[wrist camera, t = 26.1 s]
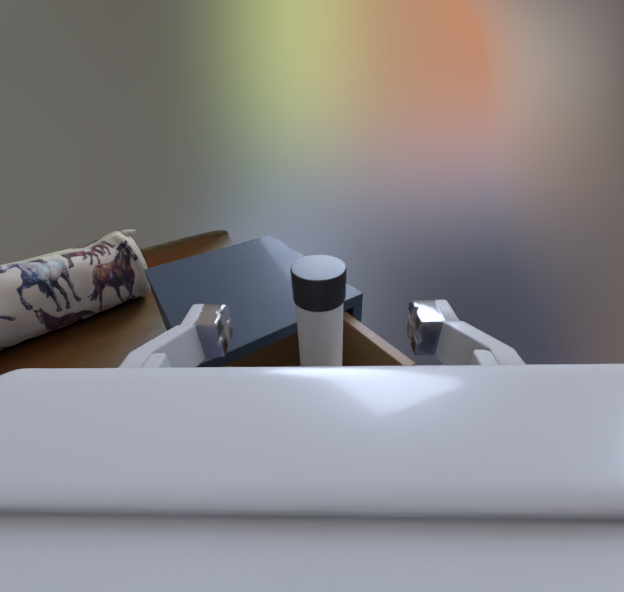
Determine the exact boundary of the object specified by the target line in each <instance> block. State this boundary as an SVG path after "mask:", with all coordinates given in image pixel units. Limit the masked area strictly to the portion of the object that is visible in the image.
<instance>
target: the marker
mask: <svg viewBox="0 0 624 592" xmlns="http://www.w3.org/2000/svg"><path fill="white" fill-rule="evenodd" d="M291 281H292V293H293V301H294V303H295V304H296V316H297V329H298V341H299V353H300V365H301V367H304V366H342V349H343V304H344V301H345V298H346V265H345V263H344V262H343V261H342V260H340V259H338V258H336V257H333V256H328V255H313V256H307V257H303V258H301V259H299V260H297V261H295V262H294V263H293V264H292V266H291Z"/></svg>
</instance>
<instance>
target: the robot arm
mask: <svg viewBox="0 0 624 592" xmlns="http://www.w3.org/2000/svg"><path fill="white" fill-rule="evenodd" d="M408 310H409V312H410V315H409V316H408V317H407V320H406V331H407V335H408V338H410V339H411V340H412V341H411V346H412V349H413V351H414V354H415V355H435V357H436V358H437V359H439V360H440V361H441V362H442V363H443V364H444V365H437V366H436V365H430V366H429V365H428V366H304V367H197V366H198V365H199V364H200V363H201V362H202V361H203V360H205V359H206V358H208V357H225V354H226V352H227V349H228V343H227V342H229V341H230V340H231V338H232V335H233V323H232V319H231V318H229V317H228V316H229V313H230V310H229V306H228V305H227V304H194V305H192V307H191V308H190V310H189V312H188V313H187V315H186V317H185V318H184V320H183V321H182V323H181V325H177V326H175V327H173V328H171V329H170V330H168V331H166V332H164V333H163V334H161V335H159V336H158V337H156V338H154V339H152V340H151V341H149V342H147V343H145V344H144V345H142V346H140V347H138V348H137V349H135V350H133V351H131V352H130V353H129V354H128V355H127V357H126V358H125V359H124V361H123V362H122V363H121V365H120V366H119V367H118V368H56V369H43V368H25V369H17V370H14V371H11V372H8V373H5V374H3V375H0V592H624V364H568V365H567V364H563V365H562V364H559V365H526V364H525V363H524V362H523V360H522V359H521V358H520V357H519V355H518V354H517V353H516V351H515V350H514V349H513V348H511V347H509V346H508V345H506V344H504V343H502V342H500V341H498V340H496V339H495V338H493V337H491V336H489V335H487V334H485V333H484V332H482V331H480V330H478V329H476V328H474V327H473V326H471V325H469V324H467V323H465V322H462V321H459V320H458V318H457V316H456V315H455V313H454V312H453V310H452V308H451V307H450V305H449V303H448V302H447V301H446V300H433V301H410V303H409V308H408Z"/></svg>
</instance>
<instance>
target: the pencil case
mask: <svg viewBox="0 0 624 592" xmlns="http://www.w3.org/2000/svg"><path fill="white" fill-rule="evenodd" d="M128 233H136V231H135V230H122V231H121V233H120V232H112V233H110V234H108V235H106V236H105V237H103V238H101V239H99V240H96V241H94V242H92V243H89V244H87V245H85V246H80V247H75V248H71V249H67V250H63V251H59V252H54V253H50V254H45V255H42V256H38V257H34V258H31V259H27V260H24V261H19V262H14V263H9V264H4V265H0V350H3V349H5V348H8V347H11V346H13V345H16V344H18V343H21V342H23V341H24V340H27V339H30V338H33V337H37V336H39V335H42V334H45V333H48V332H51V331H53V330H56V329H59V328H62V327H65V326H67V325H70V324H72V323H74V322H76V321H78V320H80V319H86V318H88V317H90V316H92V315H94V314H96V313H99V312H102V311H104V310H107V309H110V308H112V307H114V306H116V305H119V304H122V303H124V302H125V301H127V300H132V299H137V298H141V297H144V296H147V295H149V293H150V284H149V282H148V279H147V277H146V274H145V271H144V270H145V269H148V268H147V265H146V263H145V260H144V258H143V256H142V254H141V252H140V250H139V249H138V247H137V245H136V243H135V242H134V240H133V239H132V238H131V237H130V236H128Z"/></svg>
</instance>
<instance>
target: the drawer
mask: <svg viewBox="0 0 624 592" xmlns="http://www.w3.org/2000/svg"><path fill="white" fill-rule="evenodd" d="M342 366H415V363H414V362H413V361H412V360H411V359H409V358H408V357H407V356H405V355H404V354H402V353H401V352H400V351H398V350H397V349H396V348H394V347H393V346H391V345H390V344H389V343H388V342H386V341H385V340H384V339H382V338H381V337H380V336H378V335H377V334H375V333H374V332H373V331H371V330H370V329H369V328H367V327H366V326H364V325H363V324H362V323H361V322H359V321H358V320H356V319H355V318H354V317H352V316H351V315H350V314H348V313H347V312H346V311H343V349H342ZM222 367H301V365H300V353H299V341H298V332H297V333H295V334H293V335H290V336H288V337H286V338H284V339H282V340H279V341H277V342H275V343H273V344H271V345H268V346H266V347H264V348H262V349H260V350H257V351H255V352H253V353H251V354H249V355H246V356H244V357H242V358H240V359H238V360H235V361H233V362H231V363H229V364H227V365H224V366H222Z"/></svg>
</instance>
